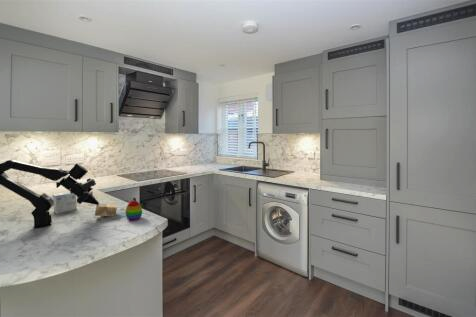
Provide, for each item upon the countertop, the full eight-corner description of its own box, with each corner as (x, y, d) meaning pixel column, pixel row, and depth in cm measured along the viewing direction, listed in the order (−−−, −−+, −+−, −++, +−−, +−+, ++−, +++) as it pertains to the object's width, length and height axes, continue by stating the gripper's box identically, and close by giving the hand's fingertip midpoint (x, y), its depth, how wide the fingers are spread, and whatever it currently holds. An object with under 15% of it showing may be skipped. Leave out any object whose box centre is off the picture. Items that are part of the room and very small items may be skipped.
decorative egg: (123, 219, 133) (122, 201, 132) (137, 215, 139) (136, 197, 138) (130, 222, 128) (129, 203, 127) (145, 218, 134) (144, 200, 133)
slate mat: (100, 220, 132) (100, 217, 132) (101, 215, 141) (101, 212, 141) (126, 216, 138) (125, 213, 138) (125, 211, 147) (125, 209, 147)
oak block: (96, 206, 133) (117, 207, 137) (97, 203, 138) (117, 204, 143) (94, 215, 133) (115, 216, 137) (95, 212, 138) (115, 213, 143)
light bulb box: (73, 207, 158) (72, 190, 157) (77, 209, 154) (76, 192, 153) (53, 211, 150) (51, 194, 149) (56, 213, 146) (55, 195, 145)
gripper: (82, 176, 124) (109, 196, 129) (87, 172, 141) (110, 189, 146) (65, 194, 121) (92, 213, 127) (71, 187, 138) (95, 204, 144)
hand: (98, 204), depth 136 cm, fingers closed
